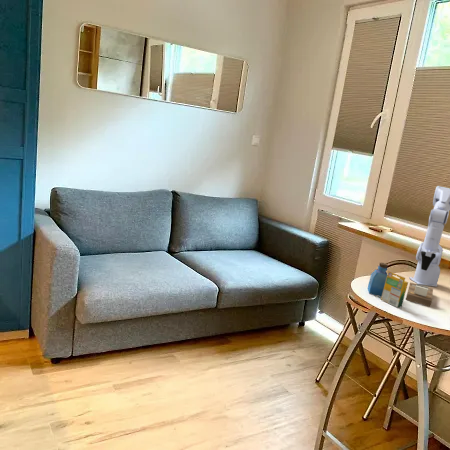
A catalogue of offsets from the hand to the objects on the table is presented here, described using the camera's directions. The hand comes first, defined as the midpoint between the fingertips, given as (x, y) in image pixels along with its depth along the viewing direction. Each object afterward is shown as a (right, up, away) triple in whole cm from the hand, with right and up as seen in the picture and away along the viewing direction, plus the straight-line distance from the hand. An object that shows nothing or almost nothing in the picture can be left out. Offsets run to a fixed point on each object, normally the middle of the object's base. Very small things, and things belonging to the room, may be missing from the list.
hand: (423, 269), depth 189 cm
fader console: (-5, -10, -6) cm, 13 cm away
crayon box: (-21, -11, -19) cm, 30 cm away
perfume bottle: (-23, -8, -10) cm, 26 cm away
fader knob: (-6, -8, -11) cm, 15 cm away
